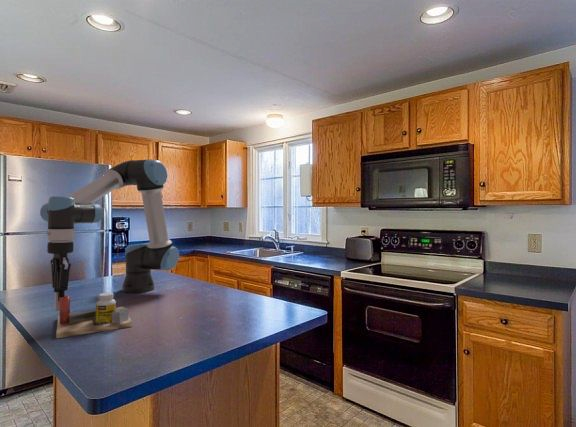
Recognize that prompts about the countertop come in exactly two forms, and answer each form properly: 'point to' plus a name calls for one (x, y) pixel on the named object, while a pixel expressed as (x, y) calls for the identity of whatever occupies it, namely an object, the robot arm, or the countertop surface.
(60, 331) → the tan flat square sheet
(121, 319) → the grey angular block
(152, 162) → the robot arm
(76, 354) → the countertop surface
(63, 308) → the lever
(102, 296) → the pill bottle
